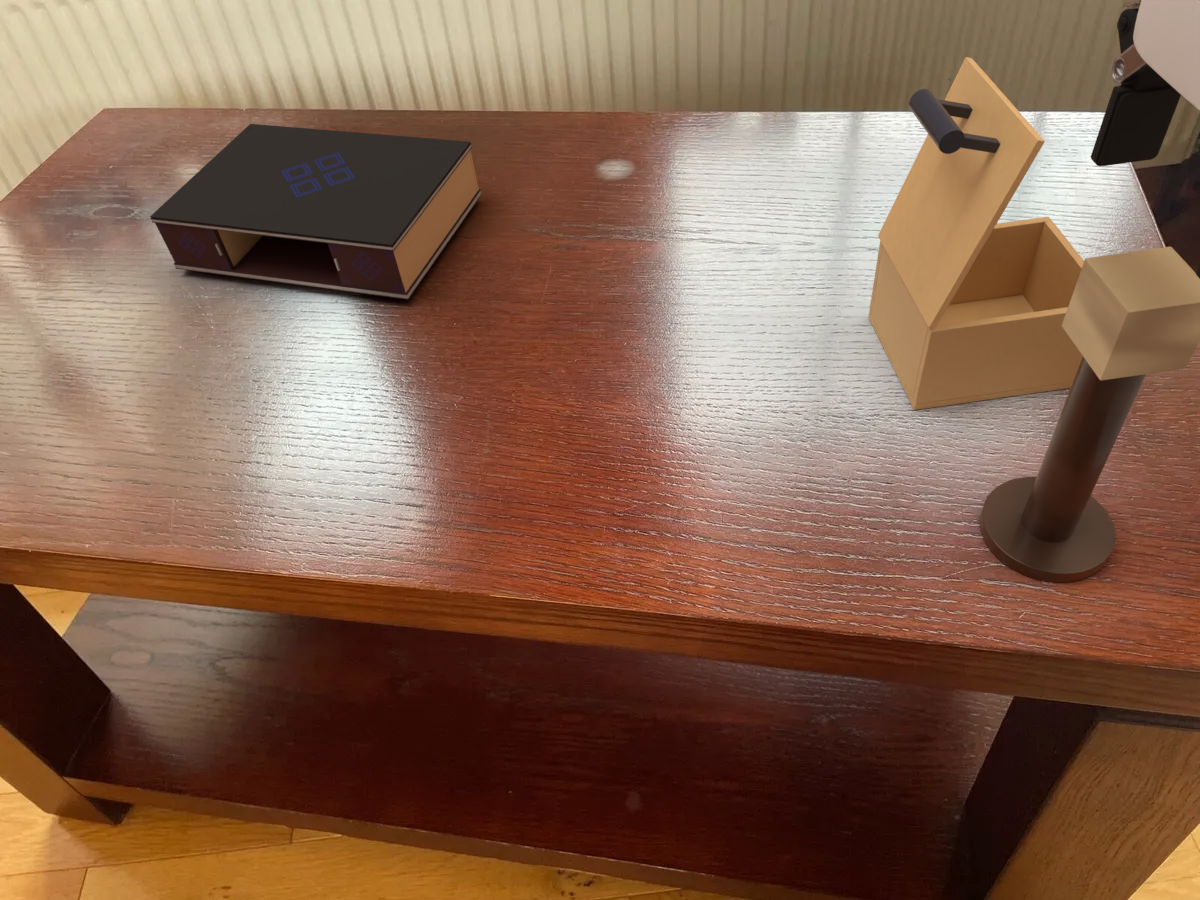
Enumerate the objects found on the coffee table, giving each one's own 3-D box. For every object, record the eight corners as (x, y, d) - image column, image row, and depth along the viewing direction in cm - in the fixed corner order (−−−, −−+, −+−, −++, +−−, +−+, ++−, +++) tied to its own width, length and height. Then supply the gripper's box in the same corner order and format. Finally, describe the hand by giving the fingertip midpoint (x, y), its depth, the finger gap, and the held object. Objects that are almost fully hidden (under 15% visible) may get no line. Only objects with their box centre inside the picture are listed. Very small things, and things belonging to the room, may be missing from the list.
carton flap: (972, 57, 62) (910, 46, 61) (1045, 141, 54) (976, 129, 53) (883, 236, 72) (828, 229, 71) (935, 328, 64) (874, 321, 63)
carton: (1024, 295, 78) (1048, 216, 72) (1087, 385, 70) (1120, 305, 64) (868, 316, 78) (879, 239, 72) (913, 410, 70) (931, 331, 64)
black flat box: (410, 307, 84) (391, 245, 79) (178, 275, 91) (148, 216, 86) (483, 201, 95) (470, 141, 90) (272, 180, 101) (250, 123, 97)
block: (1141, 314, 51) (1171, 245, 48) (1186, 369, 48) (1220, 299, 45) (1061, 326, 51) (1084, 258, 48) (1100, 381, 48) (1128, 312, 45)
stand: (1107, 496, 63) (1196, 308, 51) (1114, 593, 58) (1216, 409, 46) (981, 477, 65) (1039, 292, 53) (977, 569, 60) (1041, 387, 48)
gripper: (1701, -166, 26) (1374, 319, 38) (1307, -287, 37) (1157, 114, 50) (1432, -130, 26) (1194, 344, 38) (1122, -263, 37) (1018, 133, 50)
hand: (1173, 213), depth 44 cm, fingers open, 9 cm apart
